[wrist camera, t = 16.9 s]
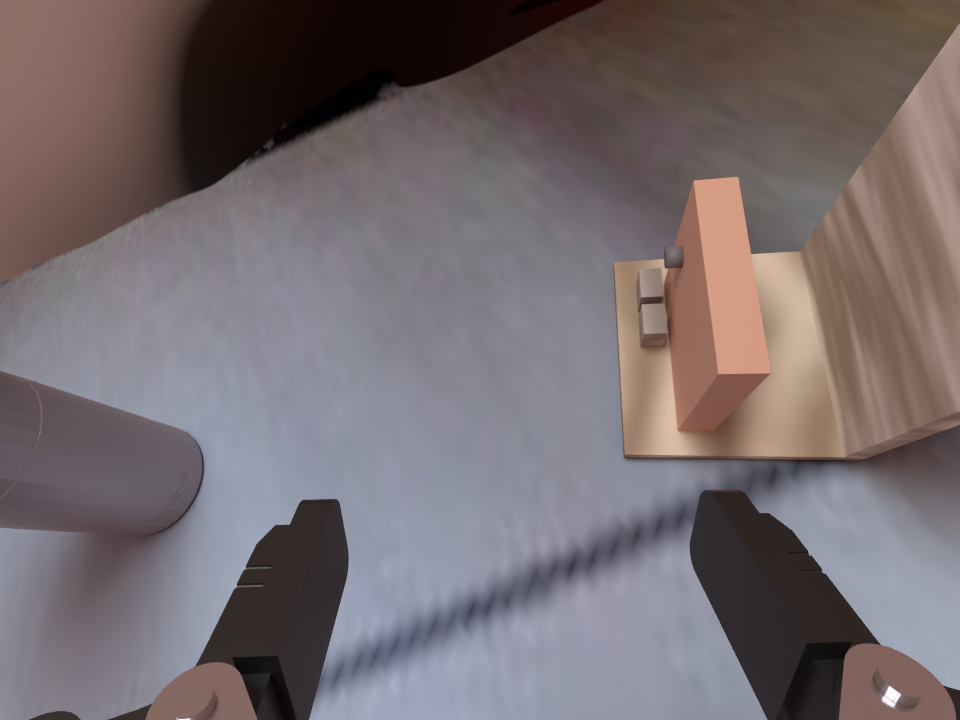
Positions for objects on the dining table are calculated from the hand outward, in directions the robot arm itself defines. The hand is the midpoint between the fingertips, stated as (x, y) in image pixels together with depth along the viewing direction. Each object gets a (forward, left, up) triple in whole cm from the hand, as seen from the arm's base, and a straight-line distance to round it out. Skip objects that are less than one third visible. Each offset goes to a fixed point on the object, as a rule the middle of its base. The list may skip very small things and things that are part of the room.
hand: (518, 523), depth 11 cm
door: (+4, +17, -26) cm, 31 cm away
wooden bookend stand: (+7, +18, -27) cm, 33 cm away
